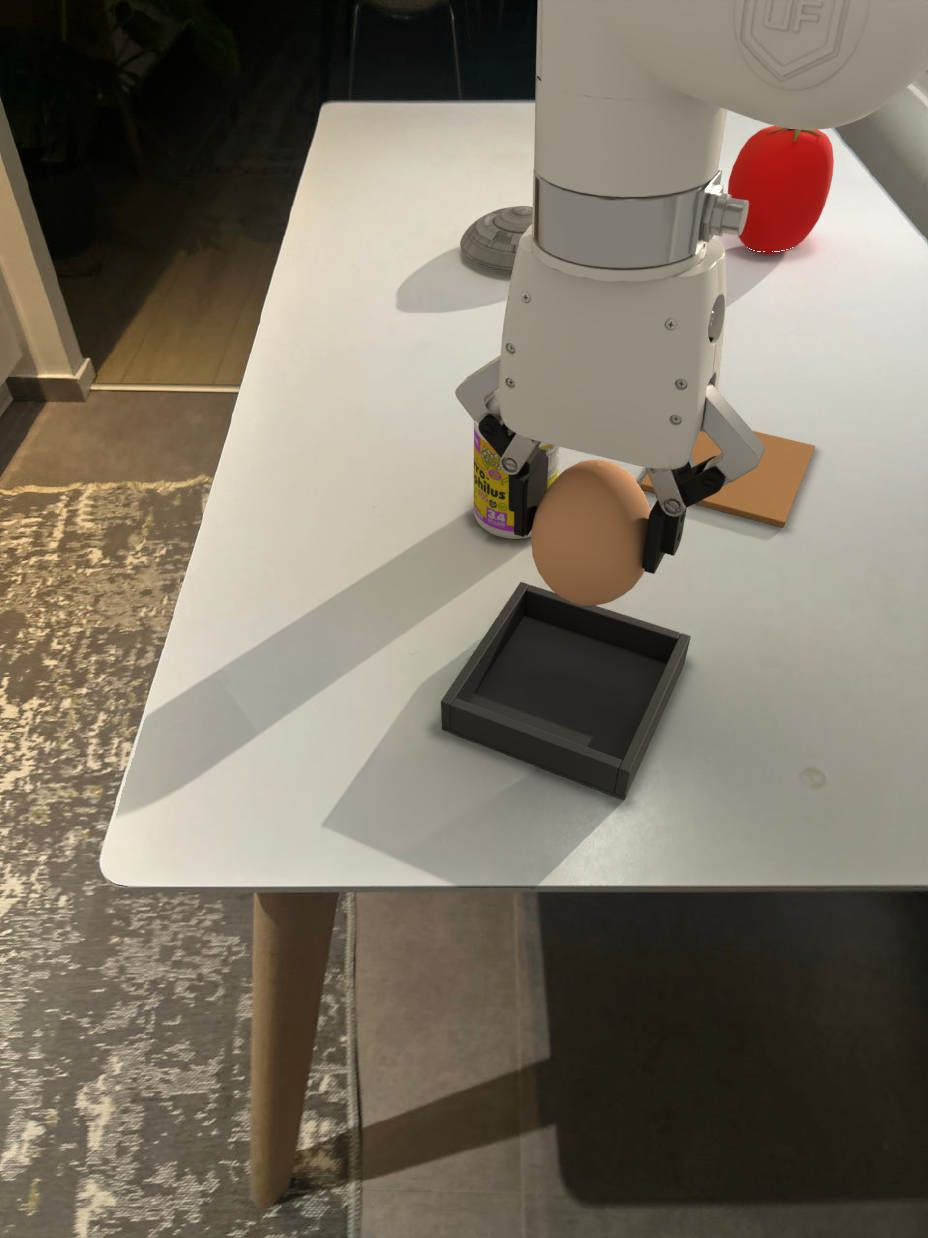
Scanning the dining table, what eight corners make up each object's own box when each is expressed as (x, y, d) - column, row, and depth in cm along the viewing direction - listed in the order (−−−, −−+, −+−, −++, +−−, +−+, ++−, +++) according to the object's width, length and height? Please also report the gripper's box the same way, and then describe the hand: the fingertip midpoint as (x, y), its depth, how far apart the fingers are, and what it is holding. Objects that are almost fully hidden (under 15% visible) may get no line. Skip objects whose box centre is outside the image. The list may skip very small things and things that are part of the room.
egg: (507, 582, 55) (508, 456, 49) (597, 542, 58) (609, 418, 51) (575, 650, 51) (585, 521, 45) (669, 604, 53) (691, 476, 47)
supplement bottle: (460, 504, 76) (458, 363, 67) (530, 484, 78) (538, 344, 69) (496, 552, 72) (498, 408, 63) (570, 529, 74) (583, 386, 65)
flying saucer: (511, 293, 104) (513, 245, 100) (435, 250, 113) (434, 203, 109) (610, 259, 110) (615, 212, 106) (531, 220, 119) (533, 176, 115)
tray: (684, 664, 63) (691, 635, 61) (624, 800, 55) (629, 772, 53) (519, 609, 67) (520, 581, 65) (441, 729, 59) (440, 701, 57)
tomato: (789, 276, 106) (821, 144, 97) (700, 252, 111) (722, 124, 102) (831, 240, 114) (864, 114, 104) (745, 219, 119) (770, 97, 109)
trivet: (813, 451, 81) (815, 445, 81) (783, 528, 74) (785, 522, 73) (681, 419, 85) (682, 413, 85) (639, 489, 77) (640, 483, 77)
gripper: (847, 210, 39) (763, 542, 51) (475, 160, 44) (480, 468, 57) (811, 281, 34) (728, 628, 46) (399, 214, 40) (423, 537, 52)
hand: (591, 537), depth 51 cm, fingers closed on egg, 6 cm apart
